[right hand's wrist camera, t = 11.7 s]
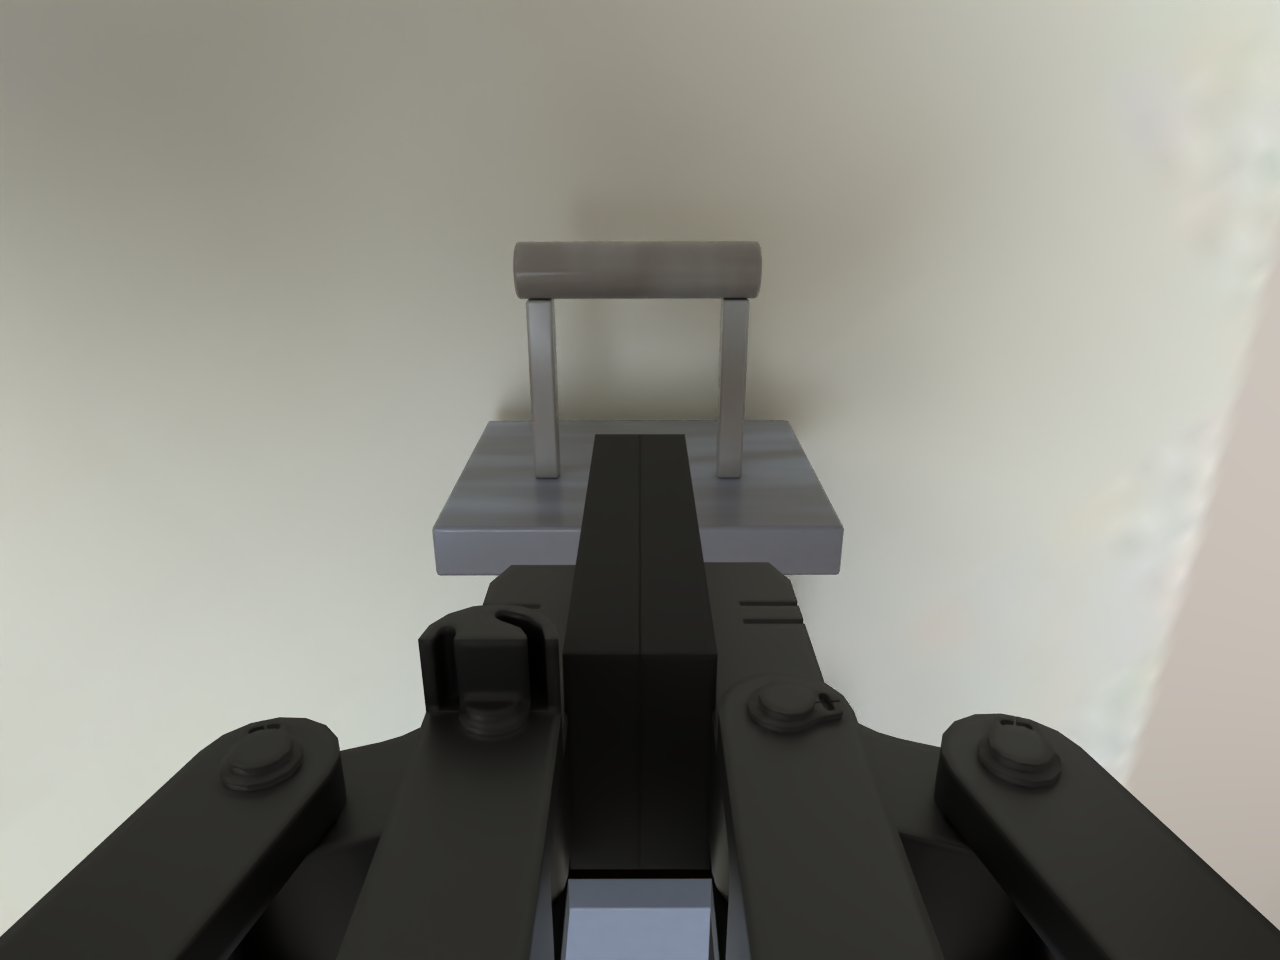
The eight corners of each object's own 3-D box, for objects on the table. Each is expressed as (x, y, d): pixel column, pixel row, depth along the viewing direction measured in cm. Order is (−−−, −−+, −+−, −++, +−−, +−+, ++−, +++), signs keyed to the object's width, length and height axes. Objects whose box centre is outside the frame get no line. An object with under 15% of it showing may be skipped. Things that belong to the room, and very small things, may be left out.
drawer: (474, 223, 24) (404, 261, 16) (801, 222, 24) (870, 260, 16) (522, 899, 33) (490, 1108, 26) (757, 898, 33) (789, 1108, 26)
